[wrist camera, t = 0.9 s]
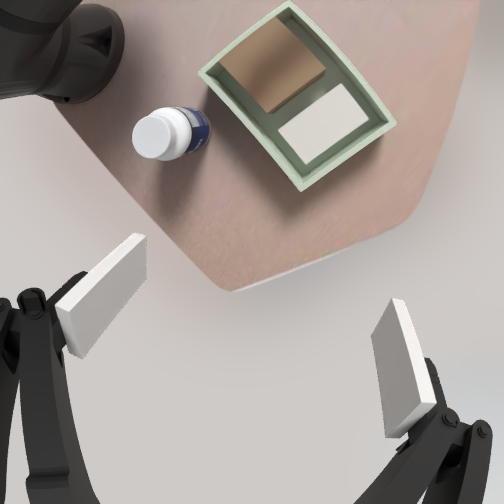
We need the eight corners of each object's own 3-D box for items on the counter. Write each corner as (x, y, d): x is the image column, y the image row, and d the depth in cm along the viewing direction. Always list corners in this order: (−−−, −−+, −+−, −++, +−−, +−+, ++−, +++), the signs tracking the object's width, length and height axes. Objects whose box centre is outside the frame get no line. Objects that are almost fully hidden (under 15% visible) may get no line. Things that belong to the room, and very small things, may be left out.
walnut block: (231, 68, 28) (218, 61, 24) (280, 29, 25) (275, 16, 21) (273, 113, 30) (266, 113, 25) (323, 75, 27) (326, 68, 22)
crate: (211, 77, 29) (196, 73, 26) (292, 13, 25) (289, -1, 21) (302, 182, 33) (300, 192, 29) (386, 122, 28) (397, 123, 24)
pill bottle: (189, 160, 34) (149, 178, 26) (161, 129, 33) (115, 138, 25) (221, 130, 32) (189, 138, 24) (192, 98, 31) (150, 95, 22)
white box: (280, 129, 30) (277, 130, 28) (338, 86, 27) (341, 83, 24) (306, 160, 31) (305, 164, 29) (364, 118, 28) (369, 119, 25)
